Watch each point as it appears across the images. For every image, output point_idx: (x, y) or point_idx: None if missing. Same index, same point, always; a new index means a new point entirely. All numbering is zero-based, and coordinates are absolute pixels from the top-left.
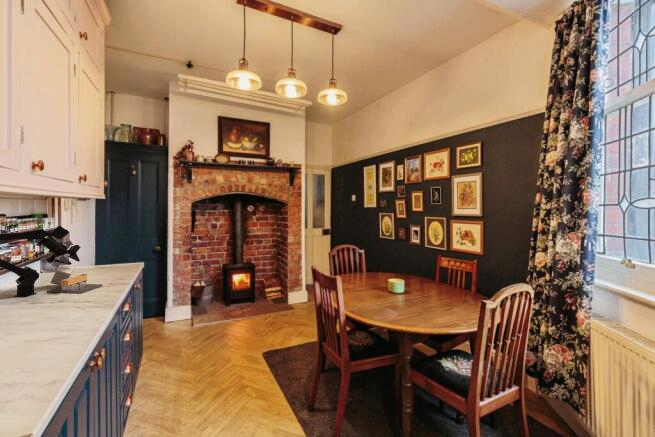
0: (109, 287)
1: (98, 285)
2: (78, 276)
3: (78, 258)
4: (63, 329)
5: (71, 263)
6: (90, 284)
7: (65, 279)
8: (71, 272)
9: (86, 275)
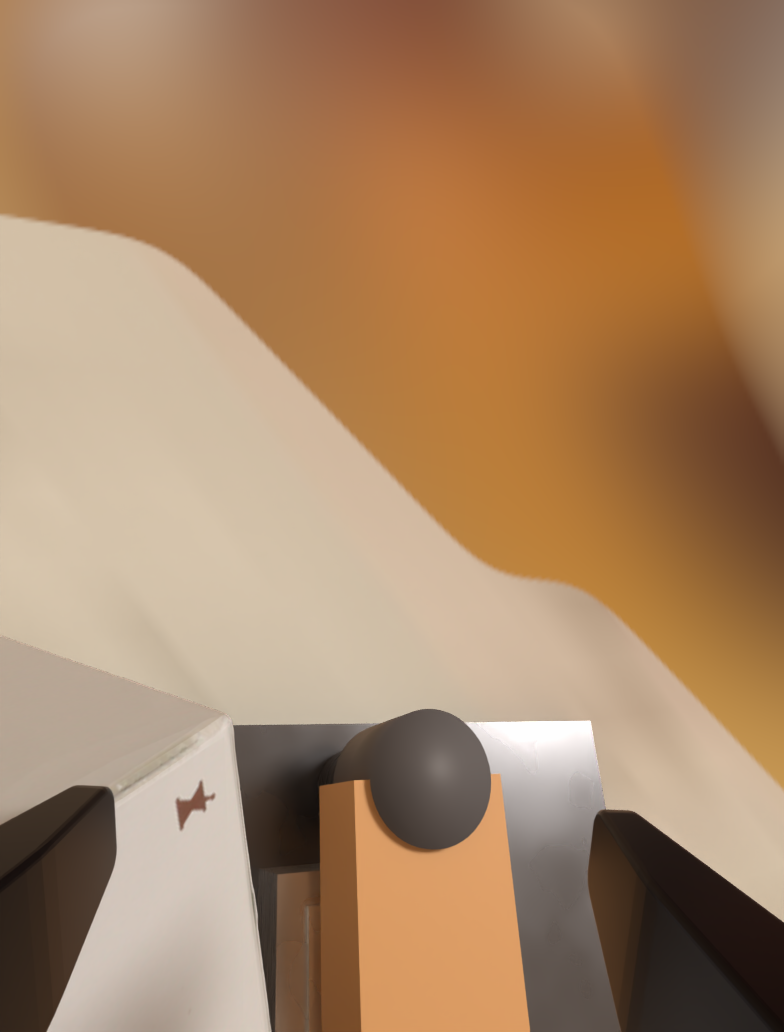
0: (690, 773)
1: (593, 796)
2: (442, 971)
3: (746, 931)
4: None
5: (112, 808)
6: None
7: None
8: (259, 1011)
9: (502, 797)
